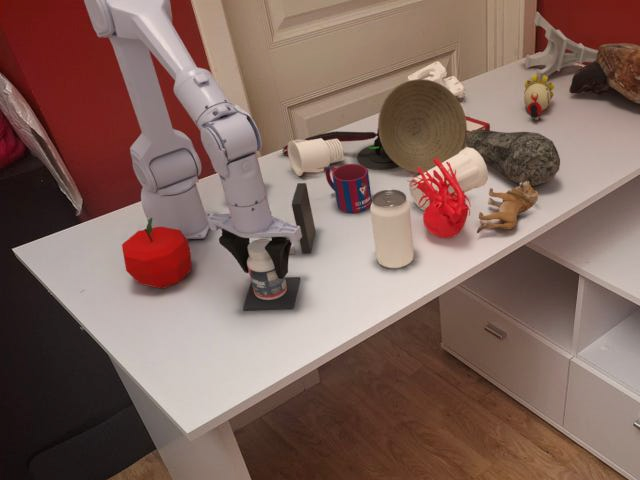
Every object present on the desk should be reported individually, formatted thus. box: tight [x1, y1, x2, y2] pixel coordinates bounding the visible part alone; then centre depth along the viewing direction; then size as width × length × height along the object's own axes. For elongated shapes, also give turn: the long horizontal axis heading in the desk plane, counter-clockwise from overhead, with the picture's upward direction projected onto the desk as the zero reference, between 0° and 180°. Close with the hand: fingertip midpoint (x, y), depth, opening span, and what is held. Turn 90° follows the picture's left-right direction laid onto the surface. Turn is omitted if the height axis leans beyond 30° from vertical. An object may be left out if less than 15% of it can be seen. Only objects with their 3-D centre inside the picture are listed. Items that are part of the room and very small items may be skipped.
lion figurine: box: [476, 181, 539, 234], centre depth 129 cm, size 15×5×9 cm
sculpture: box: [568, 42, 640, 104], centre depth 165 cm, size 16×17×25 cm
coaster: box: [242, 276, 301, 312], centre depth 115 cm, size 8×8×1 cm
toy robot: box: [356, 130, 401, 171], centre depth 145 cm, size 12×12×12 cm
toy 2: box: [523, 74, 555, 121], centre depth 163 cm, size 7×7×15 cm
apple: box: [121, 217, 192, 289], centre depth 115 cm, size 11×11×10 cm
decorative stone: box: [466, 129, 561, 187], centre depth 140 cm, size 22×10×10 cm
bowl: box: [377, 78, 467, 174], centre depth 145 cm, size 18×18×8 cm
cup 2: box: [408, 147, 489, 211], centre depth 134 cm, size 8×8×14 cm
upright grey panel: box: [289, 182, 316, 255], centre depth 122 cm, size 9×7×10 cm
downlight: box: [287, 138, 345, 177], centre depth 144 cm, size 8×7×10 cm
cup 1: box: [324, 163, 372, 214], centre depth 134 cm, size 7×10×7 cm
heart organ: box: [408, 158, 471, 239], centre depth 124 cm, size 10×12×12 cm
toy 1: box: [282, 131, 377, 156], centre depth 148 cm, size 2×22×5 cm
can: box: [370, 188, 415, 270], centre depth 118 cm, size 6×6×12 cm
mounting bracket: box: [407, 60, 466, 99], centre depth 171 cm, size 12×6×11 cm
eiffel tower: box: [524, 11, 599, 81], centre depth 182 cm, size 13×13×30 cm
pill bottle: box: [247, 238, 287, 300], centre depth 111 cm, size 5×5×9 cm
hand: (266, 272), depth 112 cm, fingers closed on pill bottle, 5 cm apart
